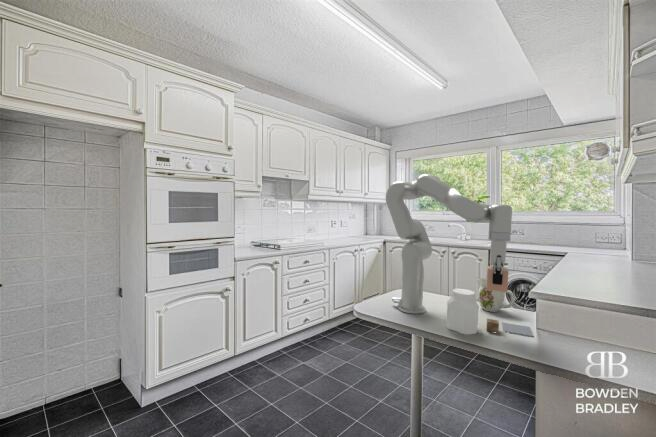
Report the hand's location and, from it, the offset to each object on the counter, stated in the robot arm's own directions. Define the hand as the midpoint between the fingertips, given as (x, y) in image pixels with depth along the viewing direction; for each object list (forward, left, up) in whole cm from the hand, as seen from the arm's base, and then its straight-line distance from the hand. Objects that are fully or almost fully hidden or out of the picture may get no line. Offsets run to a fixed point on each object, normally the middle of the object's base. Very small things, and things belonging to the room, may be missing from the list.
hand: (496, 281), depth 124 cm
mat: (+8, +6, -20) cm, 22 cm away
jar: (-12, -4, -20) cm, 23 cm away
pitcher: (0, +27, -20) cm, 33 cm away
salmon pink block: (0, 0, -3) cm, 3 cm away
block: (-1, 0, -20) cm, 20 cm away
